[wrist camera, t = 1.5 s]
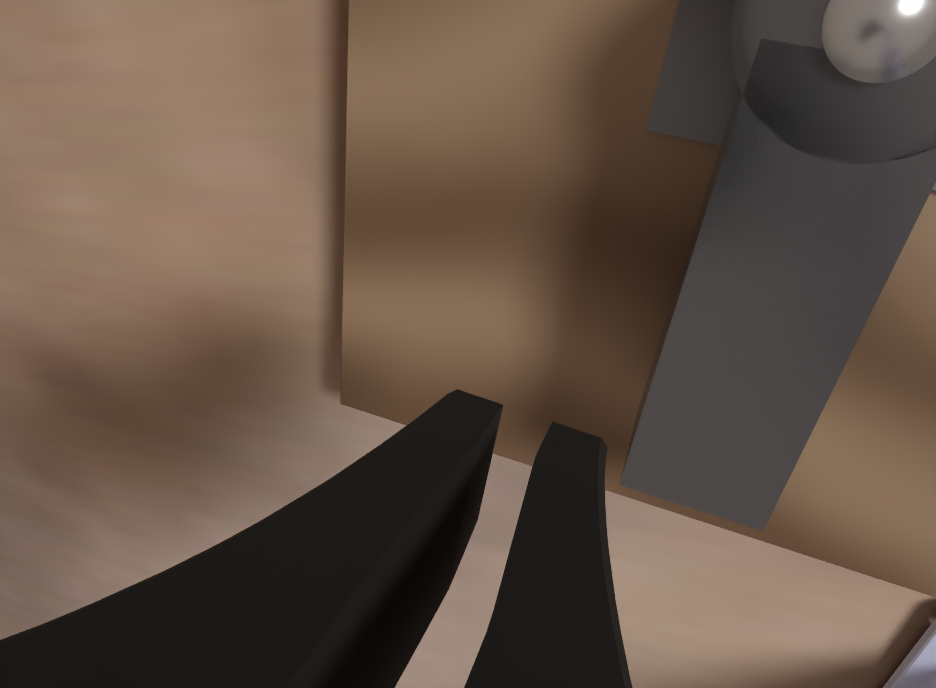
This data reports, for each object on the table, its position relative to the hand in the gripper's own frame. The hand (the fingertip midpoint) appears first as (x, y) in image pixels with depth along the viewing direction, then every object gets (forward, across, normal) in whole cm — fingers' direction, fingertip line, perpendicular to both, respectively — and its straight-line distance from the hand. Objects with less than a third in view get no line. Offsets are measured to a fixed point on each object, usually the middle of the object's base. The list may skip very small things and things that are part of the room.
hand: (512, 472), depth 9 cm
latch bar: (+8, -3, -2) cm, 9 cm away
